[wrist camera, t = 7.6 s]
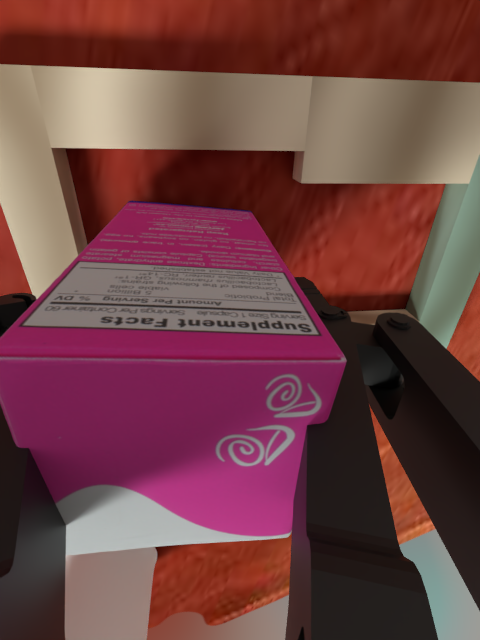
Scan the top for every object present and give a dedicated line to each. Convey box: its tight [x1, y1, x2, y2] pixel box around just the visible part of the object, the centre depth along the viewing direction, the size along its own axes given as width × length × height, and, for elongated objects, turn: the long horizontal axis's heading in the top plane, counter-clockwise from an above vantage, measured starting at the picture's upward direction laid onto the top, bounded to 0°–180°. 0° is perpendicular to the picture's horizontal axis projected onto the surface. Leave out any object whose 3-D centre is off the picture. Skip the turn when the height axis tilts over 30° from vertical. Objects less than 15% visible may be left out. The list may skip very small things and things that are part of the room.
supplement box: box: [0, 201, 347, 555], centre depth 11 cm, size 6×6×12 cm
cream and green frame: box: [0, 64, 480, 349], centre depth 17 cm, size 23×15×2 cm, turn 89°
